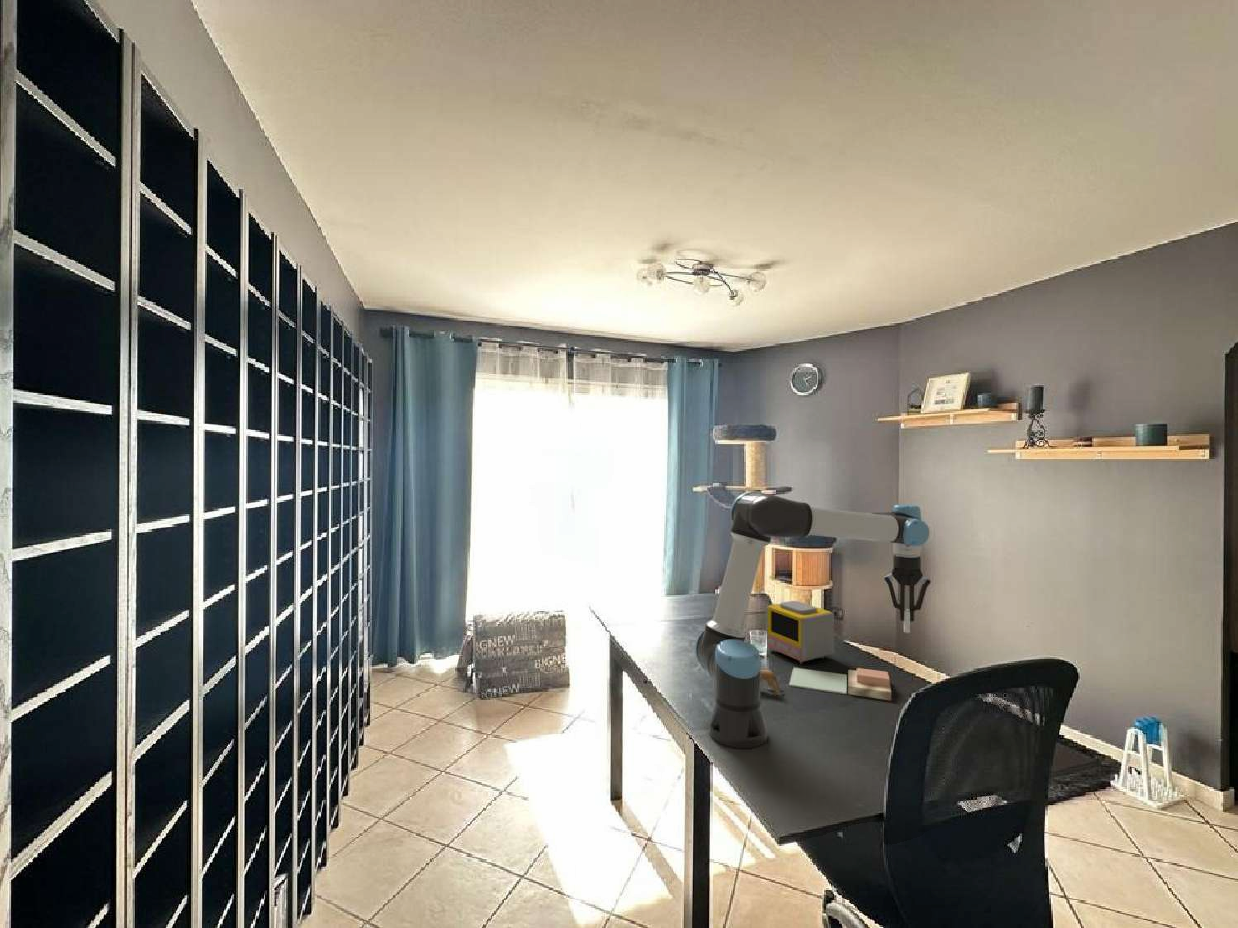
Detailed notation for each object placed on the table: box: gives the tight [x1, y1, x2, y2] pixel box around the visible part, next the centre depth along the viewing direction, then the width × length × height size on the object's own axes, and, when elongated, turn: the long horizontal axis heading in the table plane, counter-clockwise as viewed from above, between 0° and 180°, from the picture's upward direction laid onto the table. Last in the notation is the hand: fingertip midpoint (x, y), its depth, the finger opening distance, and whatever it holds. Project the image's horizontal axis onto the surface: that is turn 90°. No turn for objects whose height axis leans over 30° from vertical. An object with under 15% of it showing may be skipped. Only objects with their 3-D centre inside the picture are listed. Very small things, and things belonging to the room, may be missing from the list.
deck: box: [847, 669, 892, 701], centre depth 178 cm, size 12×14×2 cm
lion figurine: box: [760, 669, 785, 696], centre depth 177 cm, size 15×5×9 cm, turn 67°
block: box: [856, 667, 890, 687], centre depth 177 cm, size 9×6×2 cm, turn 68°
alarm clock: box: [765, 600, 835, 665], centre depth 207 cm, size 20×16×18 cm
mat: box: [788, 667, 848, 695], centre depth 184 cm, size 17×15×1 cm
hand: (906, 631), depth 173 cm, fingers closed
